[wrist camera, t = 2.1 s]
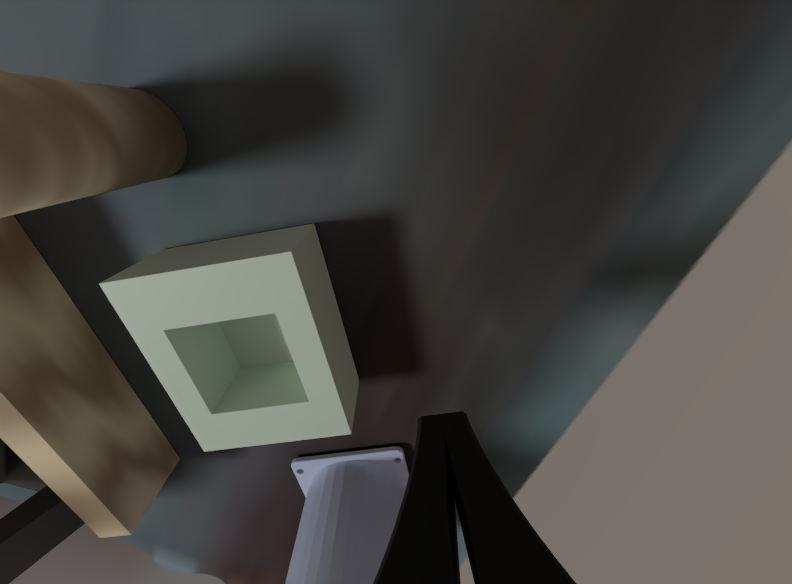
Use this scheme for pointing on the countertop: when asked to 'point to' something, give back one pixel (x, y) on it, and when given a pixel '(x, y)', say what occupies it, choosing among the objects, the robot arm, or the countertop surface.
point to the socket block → (243, 337)
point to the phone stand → (30, 519)
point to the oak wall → (71, 399)
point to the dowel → (80, 140)
